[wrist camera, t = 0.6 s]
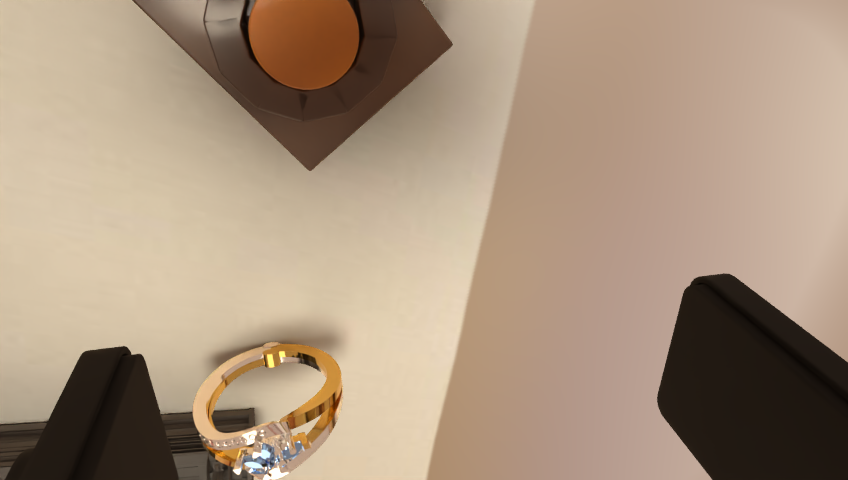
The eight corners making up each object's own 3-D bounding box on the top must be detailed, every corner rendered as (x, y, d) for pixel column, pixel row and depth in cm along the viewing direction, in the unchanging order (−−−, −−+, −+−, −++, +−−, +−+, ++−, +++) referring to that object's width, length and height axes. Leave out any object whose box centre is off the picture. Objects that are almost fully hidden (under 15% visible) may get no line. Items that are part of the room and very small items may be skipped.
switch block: (142, -8, 22) (115, 2, 19) (293, -161, 21) (294, -181, 17) (308, 155, 26) (311, 188, 23) (441, 36, 25) (465, 52, 22)
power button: (229, 22, 20) (224, 28, 18) (304, -52, 19) (306, -51, 18) (303, 99, 22) (304, 111, 20) (374, 33, 21) (381, 41, 19)
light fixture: (-50, 422, 29) (-117, 517, 24) (255, 407, 32) (248, 487, 28) (-34, 468, 30) (-96, 566, 26) (256, 449, 34) (249, 532, 29)
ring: (334, 315, 31) (348, 425, 24) (339, 362, 32) (353, 478, 25) (198, 332, 29) (170, 454, 22) (210, 380, 31) (187, 508, 24)
